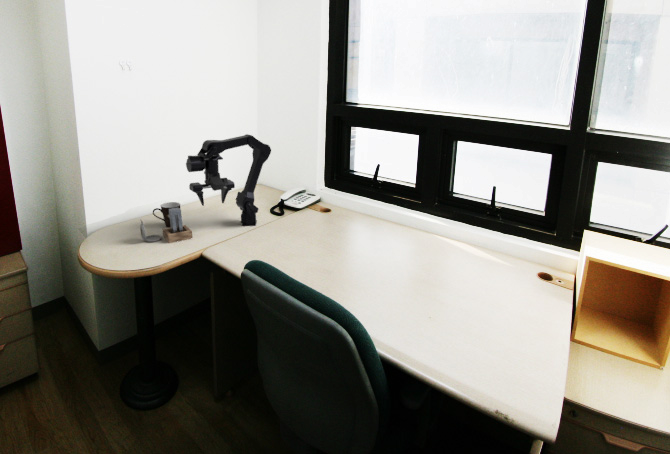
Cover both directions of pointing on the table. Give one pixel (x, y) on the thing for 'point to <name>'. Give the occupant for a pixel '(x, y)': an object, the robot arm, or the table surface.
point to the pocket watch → (148, 238)
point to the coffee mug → (167, 212)
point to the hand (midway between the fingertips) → (213, 204)
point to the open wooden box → (177, 234)
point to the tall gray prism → (175, 220)
